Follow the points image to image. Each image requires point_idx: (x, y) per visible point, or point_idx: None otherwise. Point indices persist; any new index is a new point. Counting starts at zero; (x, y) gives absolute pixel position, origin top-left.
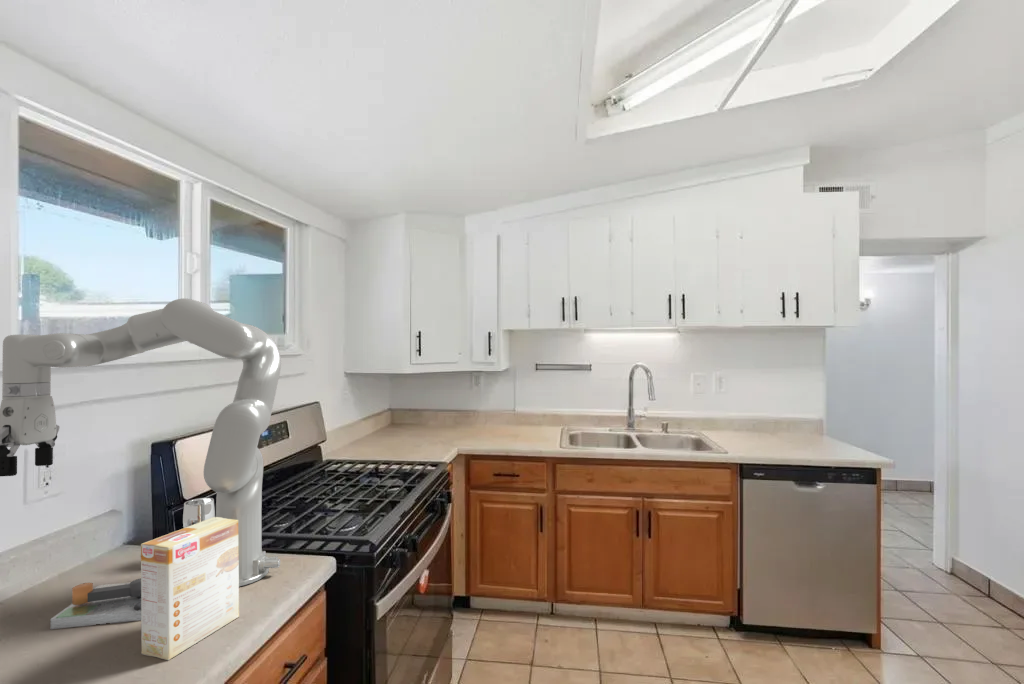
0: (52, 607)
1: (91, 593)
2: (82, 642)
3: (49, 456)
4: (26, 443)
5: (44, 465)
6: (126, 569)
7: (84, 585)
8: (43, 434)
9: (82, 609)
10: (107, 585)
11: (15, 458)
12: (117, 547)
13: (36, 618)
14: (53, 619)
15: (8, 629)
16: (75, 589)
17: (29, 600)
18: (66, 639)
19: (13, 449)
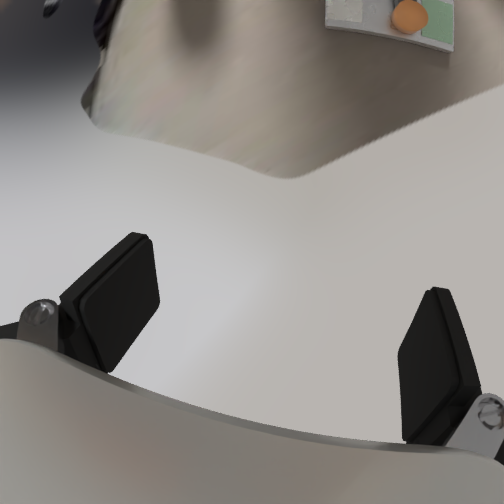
0: (361, 83)
1: (416, 1)
2: (493, 3)
3: (120, 268)
4: (485, 457)
5: (151, 264)
6: (206, 38)
7: (409, 12)
8: (127, 488)
9: (434, 13)
10: (333, 5)
11: (474, 370)
12: (100, 127)
13: (399, 90)
14: (452, 47)
15: (427, 116)
16: (425, 22)
17: (315, 139)
18: (482, 23)
19: (485, 446)
